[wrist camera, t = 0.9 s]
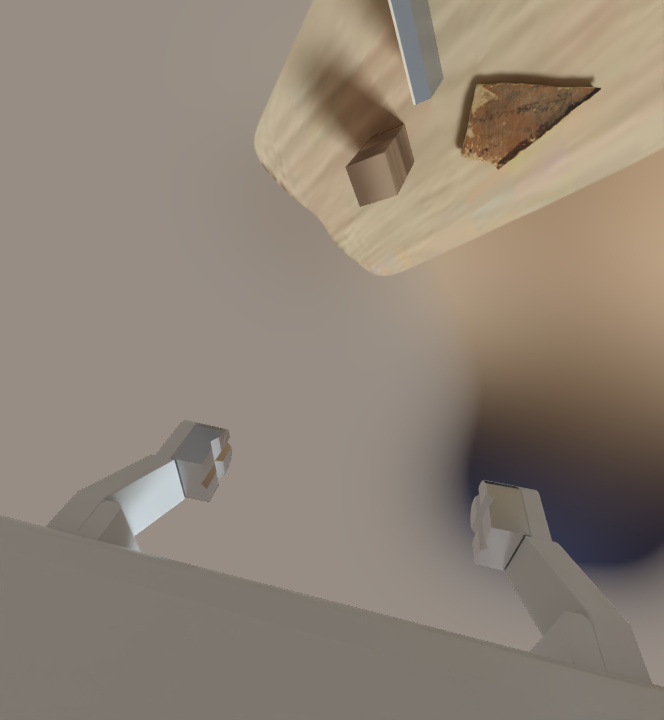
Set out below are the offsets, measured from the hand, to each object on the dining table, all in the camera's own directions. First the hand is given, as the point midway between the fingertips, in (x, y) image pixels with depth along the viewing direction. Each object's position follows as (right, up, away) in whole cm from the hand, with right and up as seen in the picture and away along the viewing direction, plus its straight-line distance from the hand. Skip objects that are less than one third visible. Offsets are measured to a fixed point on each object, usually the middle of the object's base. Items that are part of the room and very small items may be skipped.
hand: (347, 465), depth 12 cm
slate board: (+8, +34, +24) cm, 43 cm away
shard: (+18, +29, +26) cm, 43 cm away
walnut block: (+6, +27, +32) cm, 42 cm away
